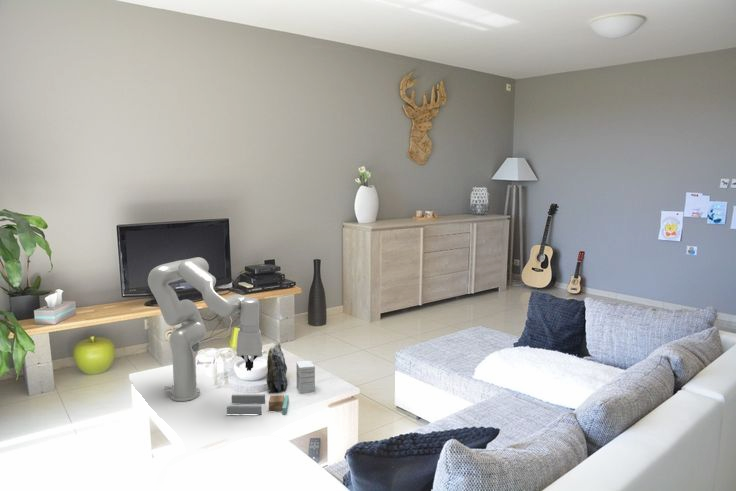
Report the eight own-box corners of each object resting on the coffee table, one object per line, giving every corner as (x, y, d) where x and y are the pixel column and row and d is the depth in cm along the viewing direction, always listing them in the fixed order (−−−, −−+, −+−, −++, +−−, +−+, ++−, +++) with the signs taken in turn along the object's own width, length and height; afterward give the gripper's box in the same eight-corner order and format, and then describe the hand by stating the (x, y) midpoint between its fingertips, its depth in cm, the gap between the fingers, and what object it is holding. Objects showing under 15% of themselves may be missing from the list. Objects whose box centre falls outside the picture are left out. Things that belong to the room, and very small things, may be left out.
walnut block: (268, 411, 217) (268, 401, 217) (270, 405, 223) (270, 395, 223) (283, 411, 218) (283, 401, 217) (284, 405, 224) (284, 395, 223)
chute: (226, 415, 213) (226, 407, 213) (232, 402, 225) (232, 394, 224) (261, 415, 214) (261, 407, 214) (264, 401, 226) (264, 394, 225)
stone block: (285, 393, 234) (285, 351, 231) (265, 393, 234) (265, 351, 231) (289, 377, 252) (289, 338, 249) (271, 377, 252) (271, 338, 249)
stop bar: (282, 414, 215) (282, 408, 214) (285, 401, 226) (285, 395, 226) (286, 414, 215) (285, 408, 214) (288, 401, 227) (288, 395, 226)
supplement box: (296, 387, 241) (296, 361, 239) (311, 385, 243) (311, 360, 241) (299, 394, 234) (299, 367, 232) (315, 392, 237) (315, 365, 235)
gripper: (229, 330, 210) (229, 372, 213) (266, 331, 211) (266, 373, 214) (233, 324, 217) (233, 365, 220) (269, 325, 218) (268, 366, 221)
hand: (249, 369), depth 217 cm, fingers closed
